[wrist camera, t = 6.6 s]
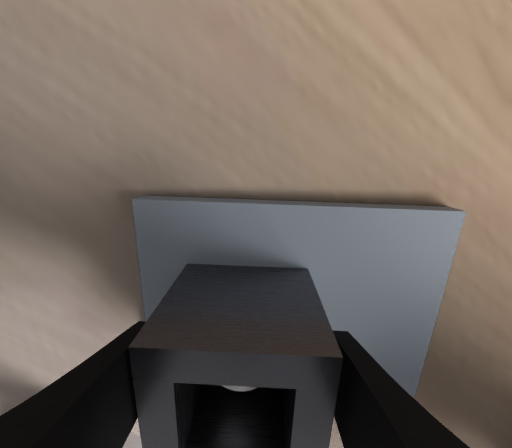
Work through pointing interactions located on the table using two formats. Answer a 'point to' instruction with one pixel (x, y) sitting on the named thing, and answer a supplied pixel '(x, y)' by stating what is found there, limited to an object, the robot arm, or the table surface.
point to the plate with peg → (317, 261)
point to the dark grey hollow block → (237, 361)
